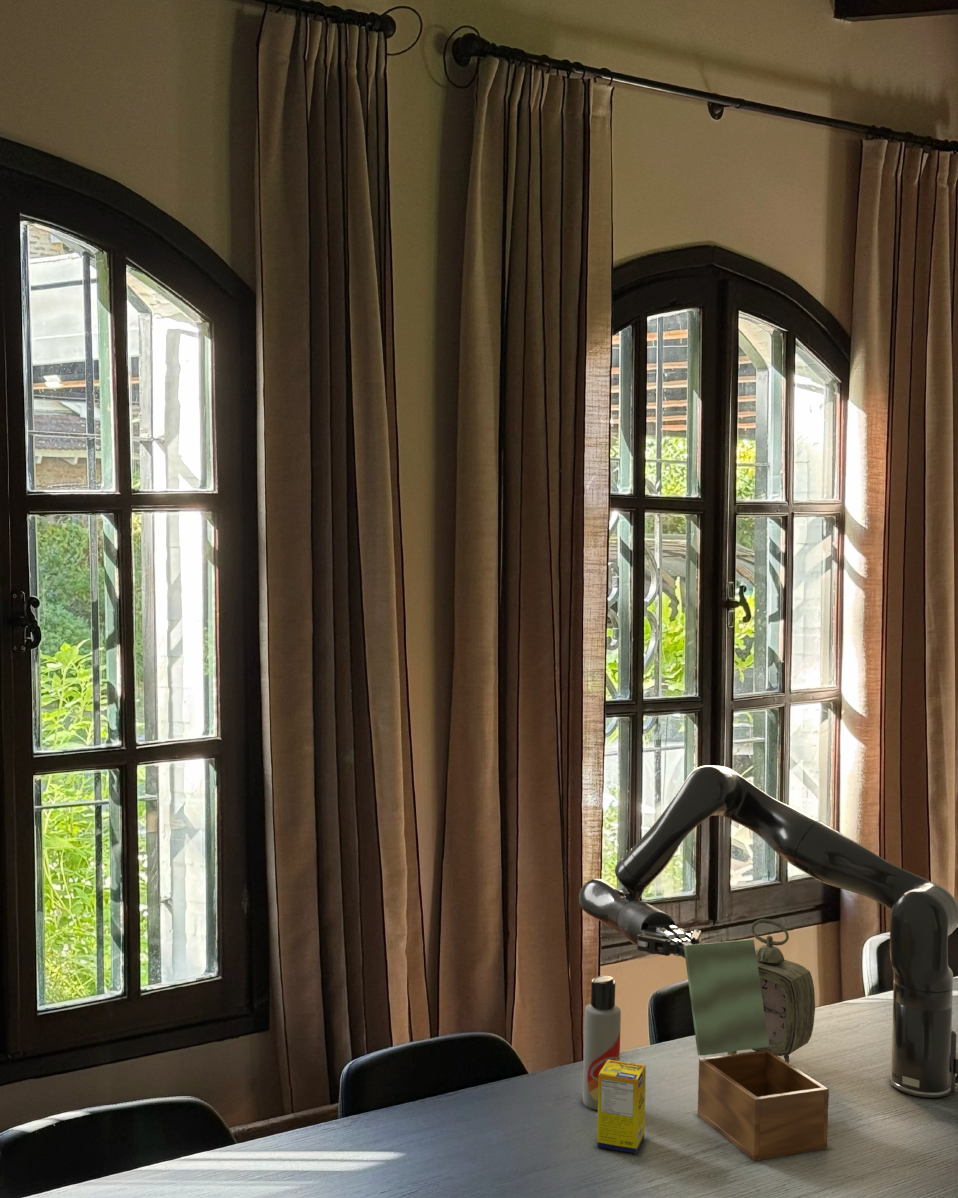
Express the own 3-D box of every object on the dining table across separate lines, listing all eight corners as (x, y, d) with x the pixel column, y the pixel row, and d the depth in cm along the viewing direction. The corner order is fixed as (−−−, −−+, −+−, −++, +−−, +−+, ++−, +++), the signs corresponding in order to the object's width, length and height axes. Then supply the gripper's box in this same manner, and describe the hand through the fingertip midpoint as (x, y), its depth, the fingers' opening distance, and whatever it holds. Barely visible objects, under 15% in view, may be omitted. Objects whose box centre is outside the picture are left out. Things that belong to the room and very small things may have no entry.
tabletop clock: (717, 1059, 206) (720, 916, 206) (742, 1045, 213) (745, 906, 213) (794, 1083, 197) (798, 933, 197) (818, 1067, 203) (821, 922, 203)
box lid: (753, 939, 192) (751, 939, 193) (686, 945, 188) (683, 945, 189) (769, 1046, 188) (766, 1046, 188) (700, 1055, 183) (697, 1055, 184)
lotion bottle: (617, 1113, 184) (620, 985, 184) (580, 1109, 185) (583, 981, 185) (620, 1098, 189) (623, 973, 189) (584, 1094, 190) (587, 970, 190)
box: (827, 1149, 173) (829, 1089, 173) (754, 1161, 169) (755, 1100, 169) (766, 1104, 188) (768, 1049, 188) (697, 1115, 184) (698, 1058, 184)
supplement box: (644, 1137, 176) (646, 1064, 176) (636, 1155, 170) (638, 1079, 170) (605, 1130, 178) (607, 1058, 178) (596, 1148, 172) (598, 1073, 172)
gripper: (613, 908, 211) (661, 936, 195) (678, 903, 216) (730, 930, 199) (612, 950, 211) (659, 981, 195) (677, 944, 216) (729, 974, 200)
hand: (695, 955), depth 197 cm, fingers closed
